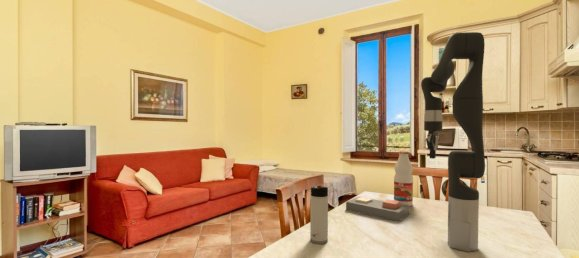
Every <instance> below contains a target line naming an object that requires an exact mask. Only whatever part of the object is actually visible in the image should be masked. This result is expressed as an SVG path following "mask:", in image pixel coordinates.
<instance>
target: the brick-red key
mask: <svg viewBox="0 0 579 258" xmlns="http://www.w3.org/2000/svg"><path fill="white" fill-rule="evenodd" d="M382 201H383V205H382V207H386V208H391V209H397V208H399V207H400V202H399V201H394V199H386V200H382Z"/></svg>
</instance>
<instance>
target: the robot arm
mask: <svg viewBox="0 0 579 258" xmlns="http://www.w3.org/2000/svg"><path fill="white" fill-rule="evenodd" d="M485 45H486V44H485V37H484V35H483V33H481V32H477V31H476V32H474V31H473V32H469V31H468V32H455V33H453V34H451V35H450V36H449V38H448V40H447V41H446V44H445V46H444V48H443V51H442V53H441V57H440V59H439V61H438V63H437V65H436V66H435V68H434V70H433V71H432V73H431V75H430V76H425V77H424V78H422V79H421V82H420V86H421V87H420V88H421V92H422V93H423V99H424V116H423V117H424V118H423V130H424V131H426V132H428V133H427V136H426V138H425V142H426V146H427V149H428V150H429V159H432V160H434V159H436V158H437V157H436V156H437V154H436V153H437V149H438V147H439V142H440V137H439V132H442V131H443V99H442V98H441V97H438V96H434V95H432V93H441V92H444V91H446V89H447V84H448V81H449V79H451V77H452V76H453V75H454V73H455V64H454V62H453V60H468V69H467V72H466V74H465V76H464V77H463V79H462V80H461V81H460V83H458V86H457V87H456V88H455V90H454V91H453V94H452V116H453V118H454V119H455V121H456V122H457V124H458V125H459V127H460V128H462V130H463V132H464V133H465V135H466V137H467V139H468V140H469V144H470V149H471V150H469V151H467V150H452V151H450V152H449V154H448V157H447V172H448V174H447V175H448V177H447V178H448V194H447V195H448V202H447V203H448V206H447V244H448V245H449V248H452V249H455V250H459V251H462V252H466V253H467V252H468V253H471V252H475V251H477V250H478V249H479V211H480V210H479V209H480V206H479V205H480V192H479V190H478V189H476V188H474V187H471V186H468V185H466V184H464V183H463V182H461V178H462V179H463V178H465V179H481V178H483V177H484V175H485V170H486V161H485V160H486V159H485V156H486V155H485V147H484V145H485V144H484V137H483V136H484V135H483V126H484V124H483V119H484V118H483V116H484V98H483V97H484V95H483V68H484V58H485Z"/></svg>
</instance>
